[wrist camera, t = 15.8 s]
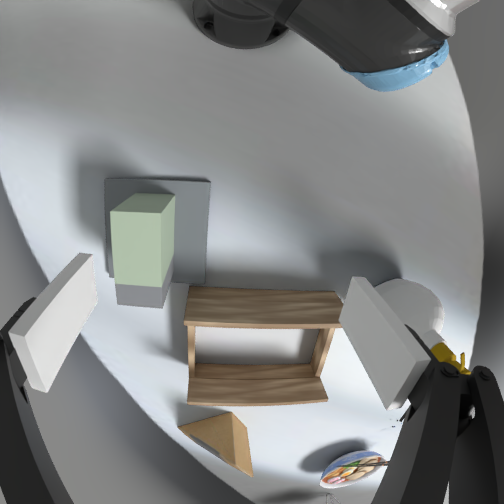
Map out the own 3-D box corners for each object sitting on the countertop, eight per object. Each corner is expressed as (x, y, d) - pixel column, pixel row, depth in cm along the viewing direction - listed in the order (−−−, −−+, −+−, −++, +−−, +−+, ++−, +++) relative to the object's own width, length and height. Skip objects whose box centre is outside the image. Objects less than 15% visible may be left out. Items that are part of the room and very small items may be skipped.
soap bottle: (411, 257, 51) (504, 333, 27) (413, 295, 54) (492, 375, 30) (346, 285, 51) (422, 388, 27) (353, 322, 54) (416, 424, 30)
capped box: (135, 193, 40) (110, 211, 30) (175, 194, 41) (161, 213, 31) (137, 268, 45) (117, 304, 35) (173, 270, 46) (162, 308, 35)
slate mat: (107, 178, 40) (104, 179, 39) (210, 181, 42) (210, 182, 41) (111, 274, 46) (109, 277, 45) (204, 281, 48) (204, 284, 47)
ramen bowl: (298, 472, 78) (303, 491, 70) (340, 437, 71) (348, 459, 64) (351, 471, 84) (357, 488, 76) (392, 438, 77) (401, 456, 70)
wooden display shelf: (189, 285, 48) (183, 320, 39) (334, 291, 51) (356, 323, 42) (190, 366, 54) (187, 404, 45) (313, 366, 58) (327, 401, 48)
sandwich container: (175, 426, 62) (172, 476, 48) (231, 410, 61) (235, 464, 47) (194, 441, 65) (194, 489, 51) (247, 427, 64) (253, 477, 50)
